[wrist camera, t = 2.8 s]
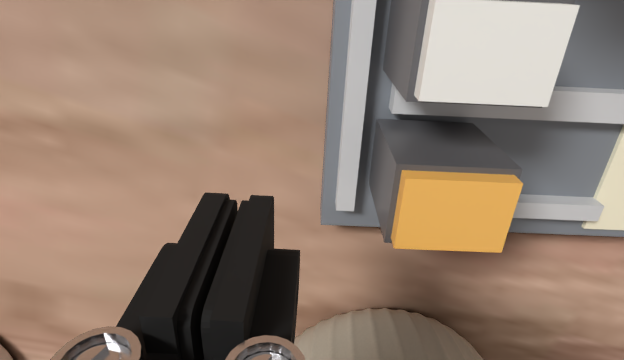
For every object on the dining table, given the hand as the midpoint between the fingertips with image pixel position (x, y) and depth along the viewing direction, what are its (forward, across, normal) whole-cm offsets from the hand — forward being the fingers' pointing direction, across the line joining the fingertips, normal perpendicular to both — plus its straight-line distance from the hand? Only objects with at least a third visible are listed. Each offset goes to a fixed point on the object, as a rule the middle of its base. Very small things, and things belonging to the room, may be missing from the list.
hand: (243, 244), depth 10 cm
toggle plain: (+8, -6, -4) cm, 11 cm away
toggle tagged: (+8, -6, +1) cm, 10 cm away
